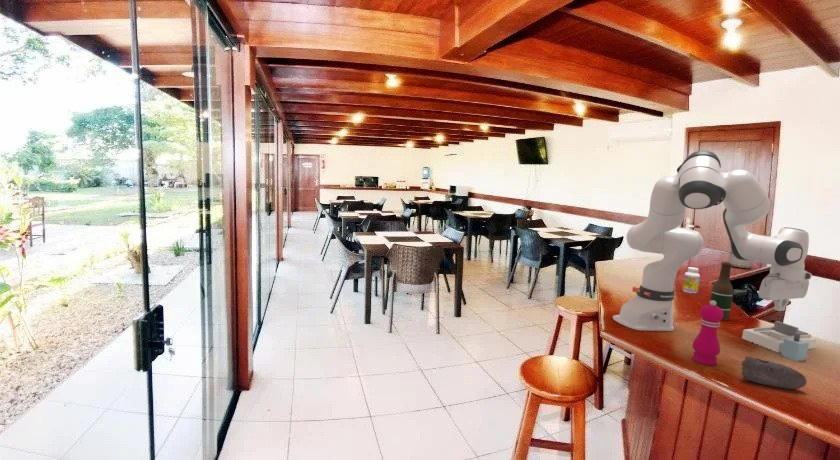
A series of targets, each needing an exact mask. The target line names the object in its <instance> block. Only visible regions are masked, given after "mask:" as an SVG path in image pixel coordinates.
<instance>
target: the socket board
mask: <svg viewBox="0 0 840 460" xmlns="http://www.w3.org/2000/svg"><path fill="white" fill-rule="evenodd" d="M741 336H742V337H741V339H742V340H745V341H748V342H750V343H752V342H753V343H752V344H755V345H757V344H758V345H757V346H760V345H761V346H760V347H762V346H764V347H763V348H765V347H766V348H765V349H767V348H768V350H770V349H771V351H772V352H775V353H782V348H783V343H784V338H794V336H791V335H788V334H785V333H782V332H779V331H777V330H774V325H773V326H763V327H761V326H760V327H754V328H747V329H743V331H742V335H741ZM811 336H812V334H810V333H808V334H805V335H800V340H802V341H805V342H808V343H809V345H808V350H813V349H815V346H816V342H817V341H816V340H817V339H816V338H814V337H811Z"/></svg>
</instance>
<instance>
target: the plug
mask: <svg viewBox="0 0 840 460" xmlns="http://www.w3.org/2000/svg"><path fill="white" fill-rule="evenodd" d="M800 335H801V334H799V333H795V335H794V338H784V343H783V348H782V352H781V357H784V358H787V359H790V360H793V361H795V362H801V361H806V359H807V355H808V350H809V349H808V345H809V343H808V342H805V341H802V340H800Z"/></svg>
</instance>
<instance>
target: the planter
mask: <svg viewBox="0 0 840 460" xmlns="http://www.w3.org/2000/svg"><path fill="white" fill-rule="evenodd" d="M728 262H729V263H731V264H732V266H731V267H733V266H734V267H733V268H735V267H739V268H738V269H741V268H745V269H751V268H752V263H753V261H748V260H741V259H738V258H736V257H735V256H734V254H733V253H732V251H731V250H730V252H729V257H728Z"/></svg>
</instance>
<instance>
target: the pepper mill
mask: <svg viewBox="0 0 840 460" xmlns="http://www.w3.org/2000/svg"><path fill="white" fill-rule="evenodd" d="M709 304H710V305H709ZM709 304H704V305H703V306H701V307H700V310H699V316H701V318H700V324H701V325H700V326H701V327H700V330H699V333H698V334H697V336H696V337H695V338H694V340H693V342H692V349H693V350H694V351H693V354H692V359H693V360H694V361H696V362H697V363H700V364H703V365H707V366H715V365H716V364H717V361H718V358H717V356H718V355H720V353H721V345H720V343H719V339H718V329H719V327H720V326H721V322H720V321H722V320H721V319H722V318H723V311H722V309H721V308H719V307H718V306H715V305H716V304H717V303H716V301H714V300H712V301H710V300H709Z"/></svg>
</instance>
